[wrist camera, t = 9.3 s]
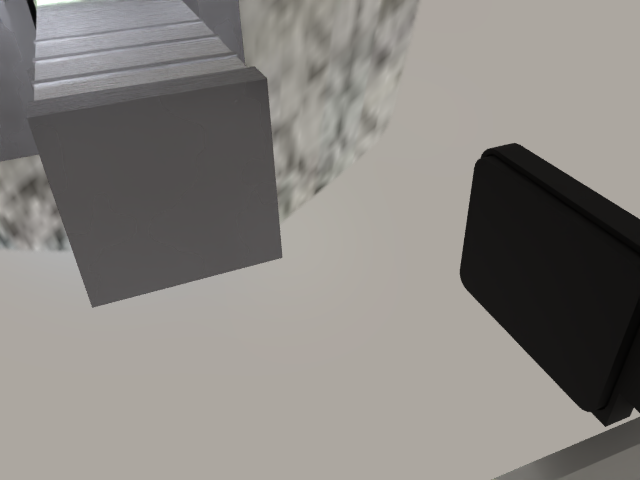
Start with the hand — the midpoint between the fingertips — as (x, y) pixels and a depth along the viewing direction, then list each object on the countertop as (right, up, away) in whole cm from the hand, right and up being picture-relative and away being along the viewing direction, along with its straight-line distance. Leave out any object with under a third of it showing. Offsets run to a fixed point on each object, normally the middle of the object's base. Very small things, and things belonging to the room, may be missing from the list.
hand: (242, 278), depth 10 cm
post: (-9, +11, +17) cm, 22 cm away
